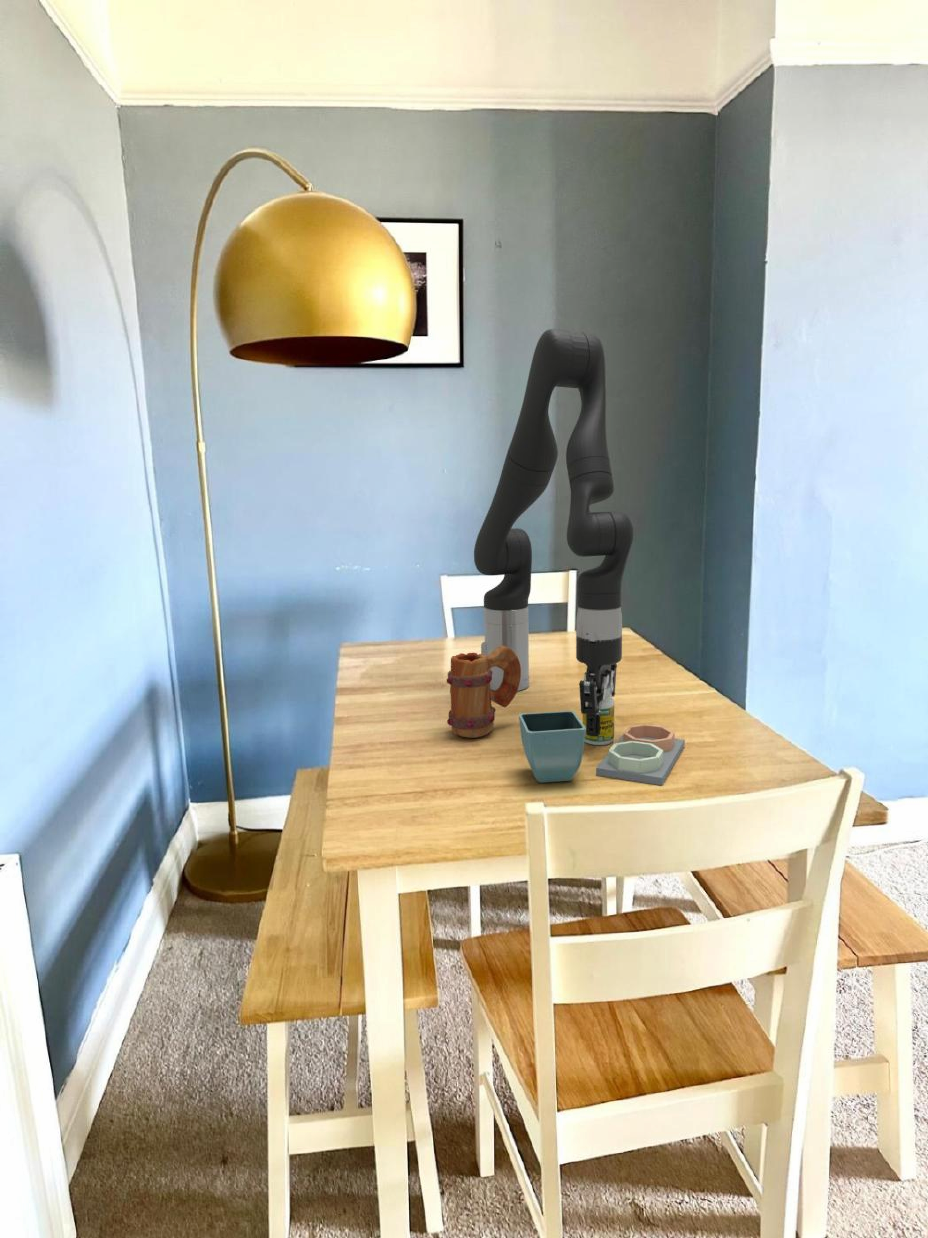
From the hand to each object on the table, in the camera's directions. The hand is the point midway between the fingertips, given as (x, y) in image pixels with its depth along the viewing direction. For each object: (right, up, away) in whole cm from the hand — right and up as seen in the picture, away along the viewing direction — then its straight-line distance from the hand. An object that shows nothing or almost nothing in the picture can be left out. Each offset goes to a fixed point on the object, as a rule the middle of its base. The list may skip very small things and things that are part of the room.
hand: (598, 729), depth 135 cm
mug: (-19, -1, +6) cm, 20 cm away
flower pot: (-9, -6, -14) cm, 18 cm away
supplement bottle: (0, -2, 0) cm, 2 cm away
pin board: (+6, -4, -9) cm, 11 cm away
